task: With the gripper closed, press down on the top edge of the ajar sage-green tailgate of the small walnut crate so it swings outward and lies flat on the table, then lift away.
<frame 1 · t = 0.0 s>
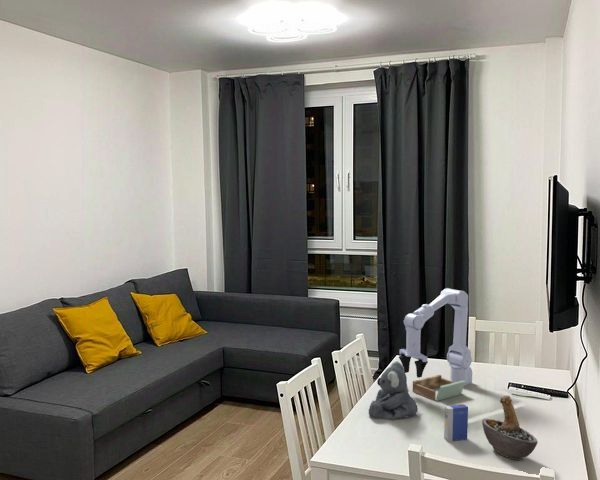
hand: (412, 374, 248), 10 cm above the table, tool pointing down, fingers open, 7 cm apart
tailgate: (450, 390, 245), point 4 cm above the table, hinge at 20.0°
crate: (436, 395, 252), on the table
walkman: (455, 439, 208), on the table
planter: (508, 455, 196), on the table
video game controller: (395, 393, 256), on the table
koala plush: (394, 414, 232), on the table
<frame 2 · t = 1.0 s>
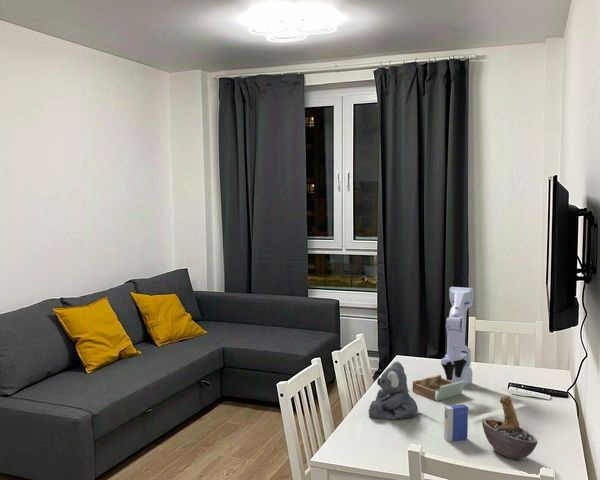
hand: (453, 378, 244), 10 cm above the table, tool pointing down, fingers open, 5 cm apart
nothing on the table moved.
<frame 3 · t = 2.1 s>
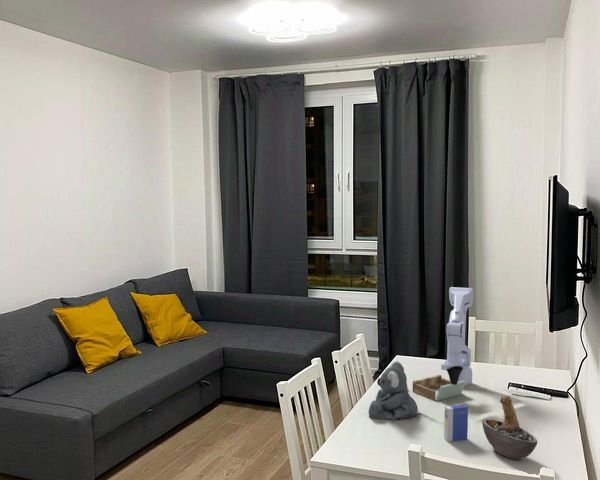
hand: (453, 384, 244), 8 cm above the table, tool pointing down, fingers closed, pressing on tailgate
tailgate: (450, 390, 245), point 4 cm above the table, hinge at 20.5°, touching gripper
everything else where it was.
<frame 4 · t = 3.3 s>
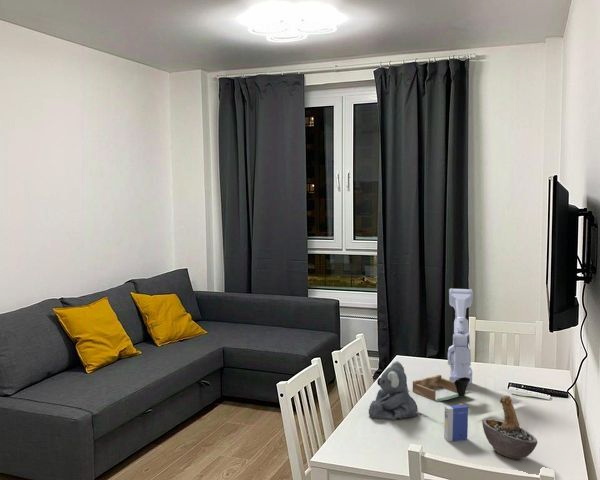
hand: (461, 396, 241), 4 cm above the table, tool pointing down, fingers closed, pressing on tailgate
tailgate: (453, 395, 244), point 3 cm above the table, hinge at 66.0°, touching gripper
everything else where it was.
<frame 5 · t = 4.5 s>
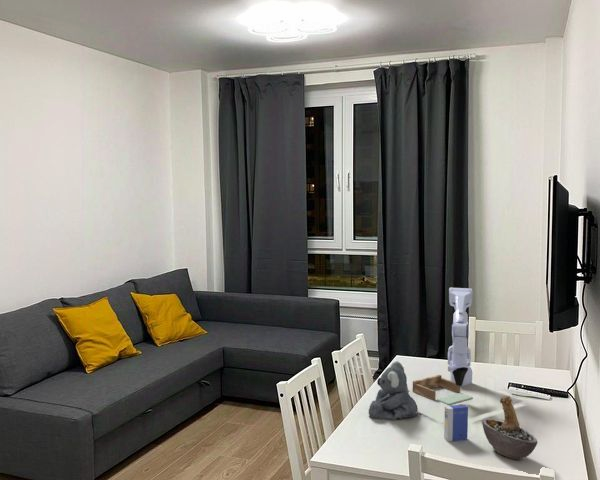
hand: (458, 385, 241), 8 cm above the table, tool pointing down, fingers closed
tailgate: (454, 399, 244), point 1 cm above the table, hinge at 89.7°
everything else where it was.
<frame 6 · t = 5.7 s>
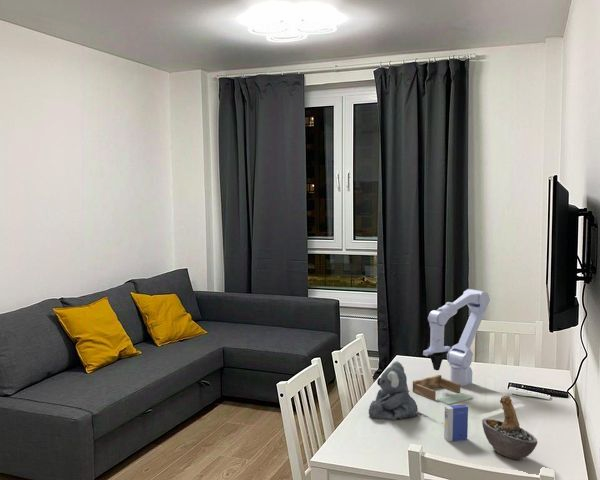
hand: (436, 369, 255), 10 cm above the table, tool pointing down, fingers closed
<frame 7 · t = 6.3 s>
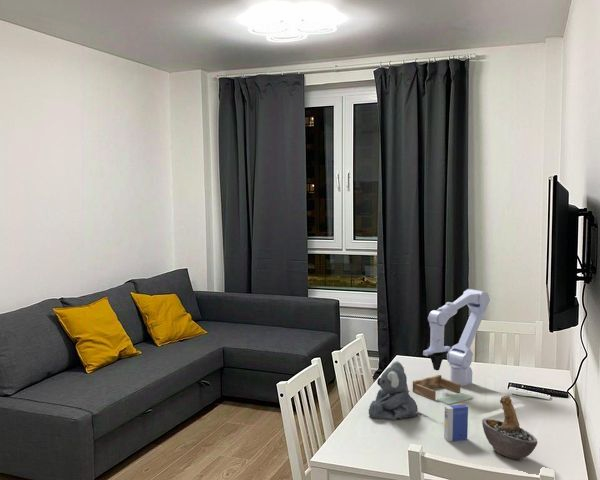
hand: (436, 369, 255), 10 cm above the table, tool pointing down, fingers closed
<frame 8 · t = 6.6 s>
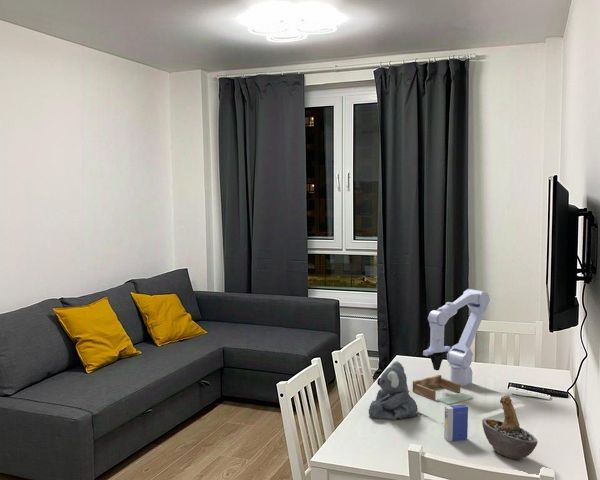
hand: (436, 369, 255), 10 cm above the table, tool pointing down, fingers closed
at the end: tailgate at +90° (first picture: +20°); tailgate touching nothing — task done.
